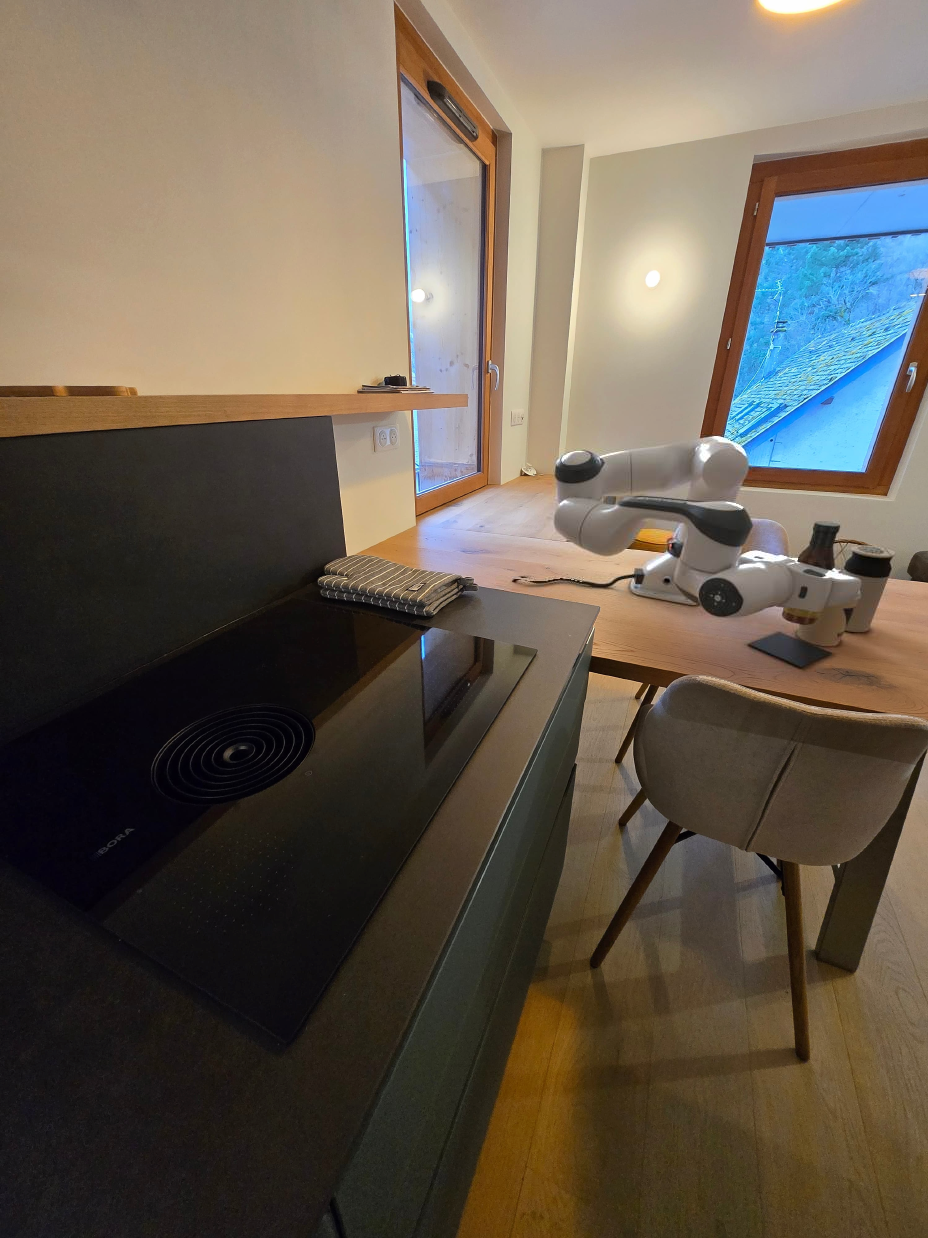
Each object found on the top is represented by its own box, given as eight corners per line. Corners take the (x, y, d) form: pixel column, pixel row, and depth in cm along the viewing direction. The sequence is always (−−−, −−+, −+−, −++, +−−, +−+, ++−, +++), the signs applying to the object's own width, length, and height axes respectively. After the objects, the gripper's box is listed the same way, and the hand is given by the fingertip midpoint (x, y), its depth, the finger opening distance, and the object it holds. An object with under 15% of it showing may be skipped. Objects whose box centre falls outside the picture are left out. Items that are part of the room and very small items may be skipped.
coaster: (800, 668, 97) (801, 666, 97) (748, 645, 105) (748, 643, 105) (831, 654, 101) (832, 652, 101) (778, 633, 110) (779, 631, 110)
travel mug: (825, 627, 112) (850, 552, 104) (826, 615, 118) (850, 542, 110) (869, 636, 108) (898, 558, 100) (867, 623, 114) (895, 548, 106)
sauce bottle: (816, 629, 96) (849, 529, 88) (779, 621, 99) (808, 525, 91) (816, 617, 101) (848, 521, 93) (781, 610, 104) (808, 517, 96)
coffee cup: (844, 652, 102) (864, 599, 97) (792, 641, 107) (808, 590, 101) (842, 634, 109) (860, 584, 104) (793, 625, 114) (807, 576, 108)
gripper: (719, 579, 100) (761, 567, 106) (827, 616, 83) (869, 600, 89) (726, 549, 97) (768, 539, 103) (839, 581, 81) (882, 567, 87)
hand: (816, 567), depth 96 cm, fingers closed on sauce bottle, 6 cm apart
